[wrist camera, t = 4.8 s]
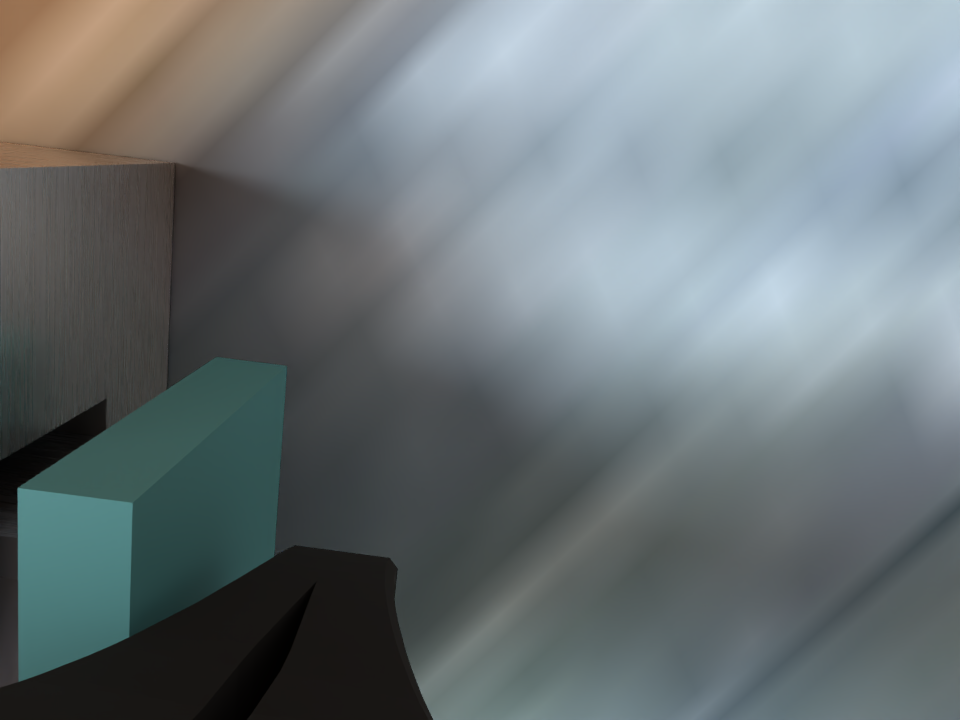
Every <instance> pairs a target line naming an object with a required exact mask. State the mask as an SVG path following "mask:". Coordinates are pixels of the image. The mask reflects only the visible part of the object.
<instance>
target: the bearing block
mask: <svg viewBox="0 0 960 720" xmlns="http://www.w3.org/2000/svg"><path fill="white" fill-rule="evenodd" d="M174 175H175V163H171V162H163V161H155V160H147V159H138V158H130V157H122V156H113V155H105V154H97V153H89V152H80V151H72V150H64V149H56V148H47V147H39V146H31V145H22V144H14V143H6V142H0V460H2V459H4V458H5V457H7V456H9V455H10V454H12V453H14V452H16V451H17V450H19V449H21V448H22V447H24V446H26V445H28V444H29V443H31V442H33V441H34V440H36V439H38V438H39V437H41V436H43V435H45V434H46V433H48V432H50V431H51V430H55V431H63V432H71V433H79V434H86V435H94V436H97V435H99V434H100V433H102V432H103V431H105V430H106V429H108V428H109V427H111V426H112V425H114V424H115V423H117V422H118V421H120V420H121V419H123V418H125V417H126V416H128V415H129V414H131V413H132V412H134V411H135V410H137V409H138V408H140V407H141V406H143V405H144V404H146V403H147V402H149V401H150V400H152V399H153V398H155V397H156V396H158V395H159V394H161V393H163V392H164V391H166V390H167V372H168V344H169V316H170V288H171V260H172V231H173V203H174Z"/></svg>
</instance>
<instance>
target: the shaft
mask: <svg viewBox="0 0 960 720" xmlns="http://www.w3.org/2000/svg"><path fill="white" fill-rule="evenodd" d="M286 375H287V366H284V365H276V364H269V363H261V362H253V361H245V360H237V359H229V358H221V357H216V358H214V359H213V360H211V361H210V362H208V363H207V364H205V365H204V366H202V367H201V368H199V369H197V370H196V371H194V372H193V373H191V374H190V375H188V376H187V377H185V378H184V379H182V380H181V381H179V382H178V383H176V384H175V385H173V386H172V387H170V388H169V389H167V390H166V391H164V392H163V393H161V394H159V395H158V396H156V397H155V398H153V399H152V400H150V401H149V402H147V403H146V404H144V405H143V406H141V407H140V408H138V409H137V410H135V411H134V412H132V413H131V414H129V415H128V416H126V417H125V418H123V419H121V420H120V421H118V422H117V423H115V424H114V425H112V426H111V427H109V428H108V429H106V430H105V431H103V432H102V433H100V434H99V435H97V436H94V435H86V434H79V433H71V432H63V431H55V430H51V431H50V432H48V433H46V434H45V435H43V436H41V437H39V438H38V439H36V440H34V441H33V442H31V443H29V444H28V445H26V446H24V447H22V448H21V449H19V450H17V451H16V452H14V453H12V454H10V455H9V456H7V457H5V458H4V459H2V460H0V687H3V686H7V685H10V684H13V683H16V682H20V681H23V680H26V679H28V678H31V677H34V676H37V675H40V674H42V673H45V672H47V671H50V670H53V669H55V668H58V667H60V666H63V665H65V664H68V663H70V662H73V661H76V660H78V659H81V658H83V657H86V656H88V655H90V654H93V653H95V652H97V651H100V650H102V649H104V648H107V647H109V646H111V645H113V644H116V643H118V642H120V641H122V640H124V639H126V638H129V637H131V636H133V635H134V634H136V633H138V632H140V631H142V630H144V629H146V628H148V627H150V626H152V625H154V624H156V623H158V622H160V621H162V620H164V619H166V618H168V617H170V616H172V615H173V614H175V613H177V612H179V611H181V610H183V609H185V608H187V607H189V606H191V605H193V604H195V603H197V602H198V601H200V600H202V599H204V598H205V597H207V596H209V595H210V594H212V593H214V592H216V591H217V590H219V589H221V588H222V587H224V586H226V585H228V584H229V583H231V582H233V581H234V580H236V579H238V578H240V577H241V576H243V575H245V574H246V573H248V572H249V571H251V570H253V569H254V568H256V567H258V566H259V565H261V564H263V563H264V562H266V561H268V560H269V559H271V558H273V557H274V553H275V538H276V523H277V508H278V494H279V479H280V464H281V449H282V434H283V420H284V405H285V390H286Z"/></svg>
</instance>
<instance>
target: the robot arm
mask: <svg viewBox="0 0 960 720" xmlns="http://www.w3.org/2000/svg"><path fill="white" fill-rule="evenodd" d="M397 570H398V568H397V567H396V566H395V565H394V563H393V562H392V561H391V559H390V558H385V557H378V556H370V555H363V554H355V553H348V552H341V551H333V550H326V549H318V548H311V547H303V546H296V545H295V546H293V547H291V548H289V549H287V550H285V551H283V552H281V553H279V554H278V555H276V556H274V557H273V558H271V559H269V560H268V561H266V562H264V563H263V564H261V565H259V566H258V567H256V568H254V569H253V570H251V571H249V572H248V573H246V574H245V575H243V576H241V577H240V578H238V579H236V580H234V581H233V582H231V583H229V584H228V585H226V586H224V587H222V588H221V589H219V590H217V591H216V592H214V593H212V594H210V595H209V596H207V597H205V598H204V599H202V600H200V601H198V602H197V603H195V604H193V605H191V606H189V607H187V608H185V609H183V610H181V611H179V612H177V613H175V614H173V615H172V616H170V617H168V618H166V619H164V620H162V621H160V622H158V623H156V624H154V625H152V626H150V627H148V628H146V629H144V630H142V631H140V632H138V633H136V634H134V635H133V636H131V637H129V638H126V639H124V640H122V641H120V642H118V643H116V644H113V645H111V646H109V647H107V648H104V649H102V650H100V651H97V652H95V653H93V654H90V655H88V656H86V657H83V658H81V659H78V660H76V661H73V662H70V663H68V664H65V665H63V666H60V667H58V668H55V669H53V670H50V671H47V672H45V673H42V674H40V675H37V676H34V677H31V678H28V679H26V680H23V681H20V682H16V683H13V684H10V685H7V686H3V687H0V720H433V718H432V716H431V714H430V712H429V710H428V708H427V706H426V704H425V701H424V699H423V697H422V694H421V692H420V690H419V687H418V684H417V682H416V679H415V677H414V674H413V671H412V669H411V666H410V663H409V660H408V657H407V654H406V651H405V647H404V643H403V639H402V635H401V631H400V628H399V624H398V619H397V614H396V608H395V600H394V598H395V589H396V579H397Z"/></svg>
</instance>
